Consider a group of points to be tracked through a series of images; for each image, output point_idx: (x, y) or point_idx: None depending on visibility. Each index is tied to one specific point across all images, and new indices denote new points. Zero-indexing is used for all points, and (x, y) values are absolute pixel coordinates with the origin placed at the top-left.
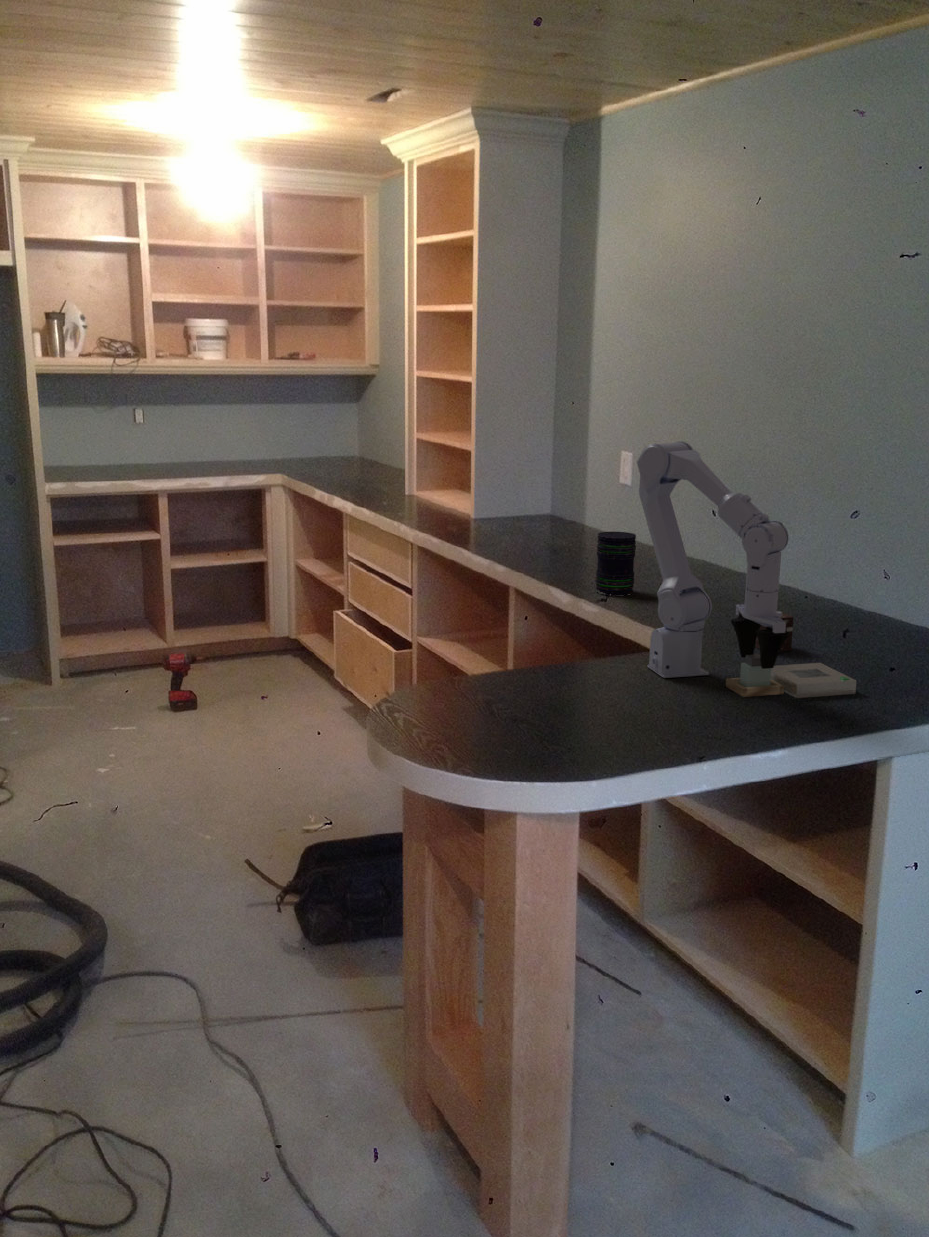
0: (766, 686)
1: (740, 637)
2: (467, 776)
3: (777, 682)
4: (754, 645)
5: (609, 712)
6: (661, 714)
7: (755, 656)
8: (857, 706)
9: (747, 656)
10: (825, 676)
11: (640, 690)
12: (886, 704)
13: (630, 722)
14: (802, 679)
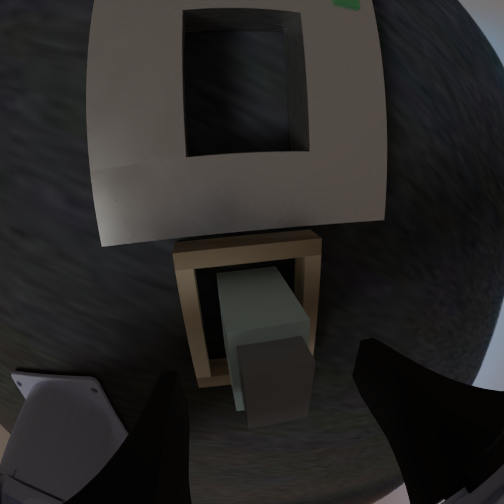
0: (308, 302)
1: (188, 492)
2: (383, 497)
3: (274, 244)
4: (169, 410)
5: (306, 488)
6: (339, 458)
7: (281, 404)
8: (437, 81)
9: (264, 423)
10: (306, 35)
11: (215, 477)
12: (425, 8)
13: (348, 472)
14: (331, 158)
